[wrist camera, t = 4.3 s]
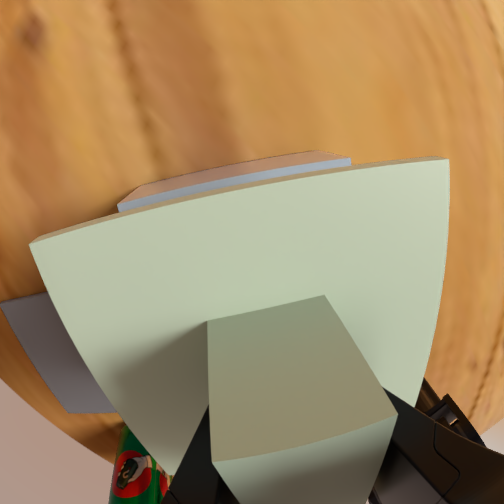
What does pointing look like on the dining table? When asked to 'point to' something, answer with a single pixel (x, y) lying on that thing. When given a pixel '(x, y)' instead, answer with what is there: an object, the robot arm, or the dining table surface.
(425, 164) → the lid
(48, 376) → the mat
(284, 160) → the grey open box
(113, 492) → the soda can
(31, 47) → the dining table surface
